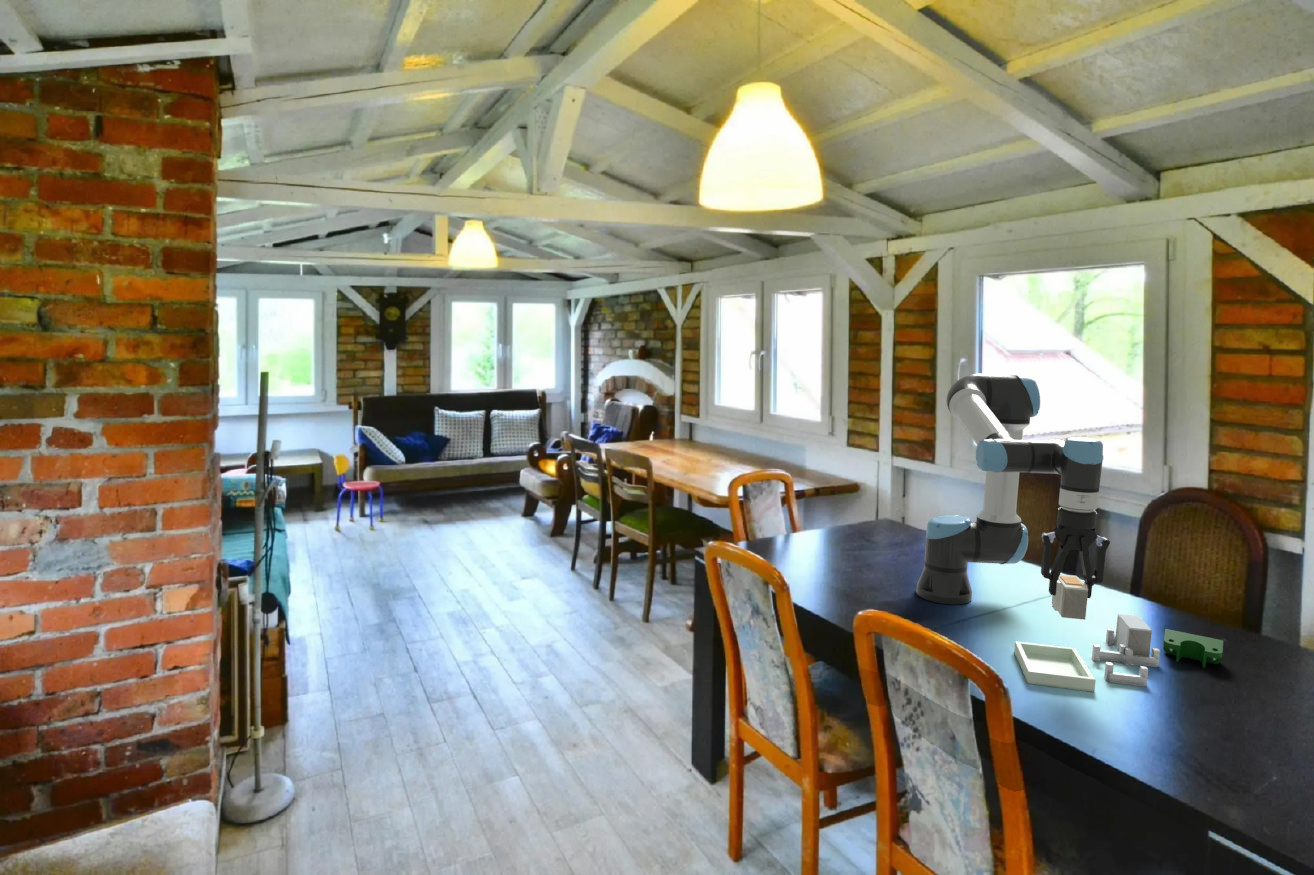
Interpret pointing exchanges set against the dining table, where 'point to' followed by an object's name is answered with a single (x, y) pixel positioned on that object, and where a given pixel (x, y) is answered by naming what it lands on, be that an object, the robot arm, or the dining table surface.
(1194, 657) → the clamp
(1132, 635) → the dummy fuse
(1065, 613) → the block
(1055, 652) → the tray
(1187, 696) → the dining table surface
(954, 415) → the robot arm
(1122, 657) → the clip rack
